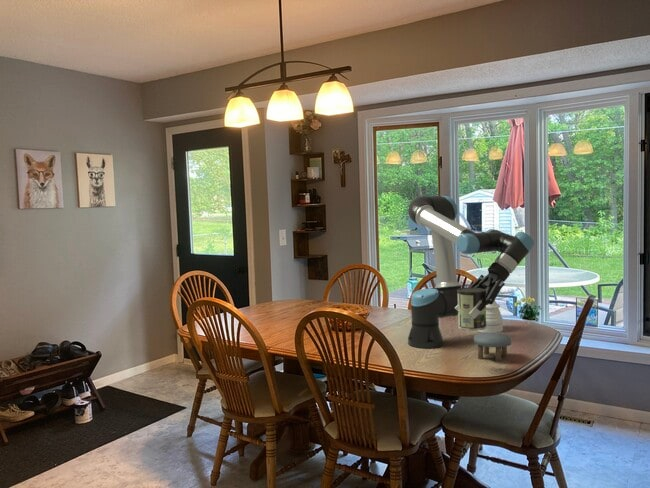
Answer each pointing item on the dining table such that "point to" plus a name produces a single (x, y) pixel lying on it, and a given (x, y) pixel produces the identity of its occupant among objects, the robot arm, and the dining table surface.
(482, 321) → the coffee can
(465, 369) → the dining table surface
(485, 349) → the stool
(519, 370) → the dining table surface
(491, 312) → the white tapered piece
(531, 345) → the dining table surface
